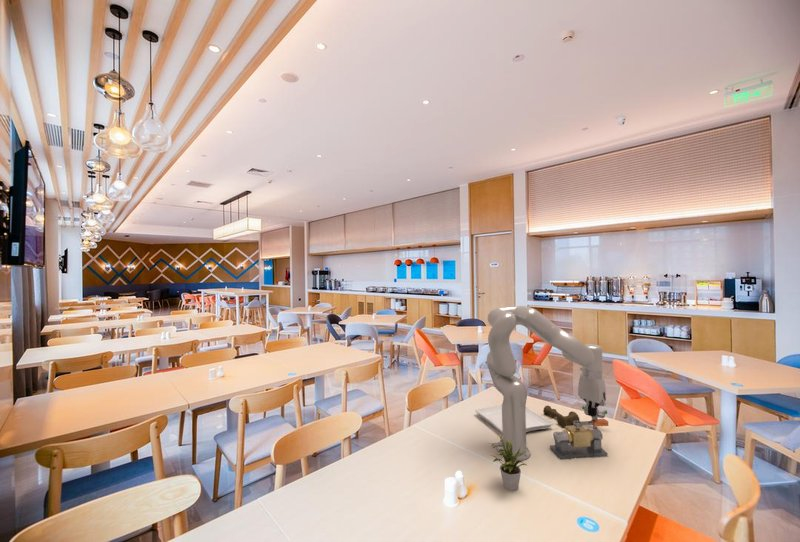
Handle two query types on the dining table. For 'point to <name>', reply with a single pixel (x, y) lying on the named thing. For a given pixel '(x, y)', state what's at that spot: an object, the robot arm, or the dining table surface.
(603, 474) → the dining table surface
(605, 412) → the mechanical component
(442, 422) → the dining table surface
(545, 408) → the kendama
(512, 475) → the house plant
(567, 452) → the ball valve
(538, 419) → the square plate
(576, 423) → the lever
